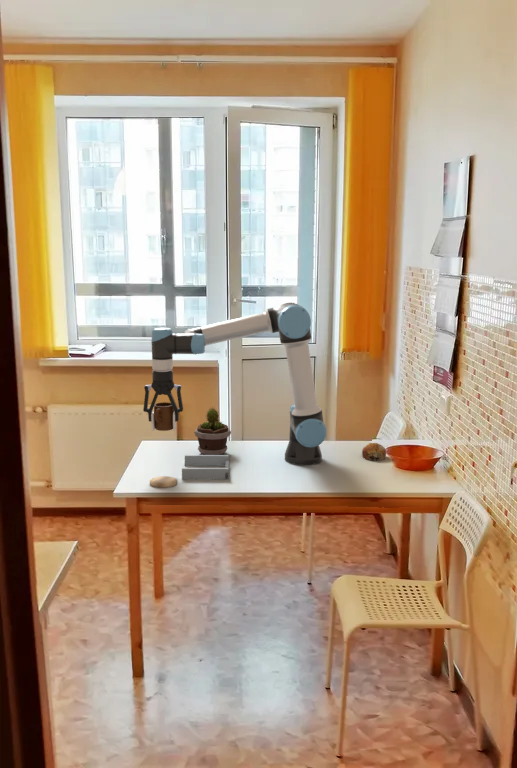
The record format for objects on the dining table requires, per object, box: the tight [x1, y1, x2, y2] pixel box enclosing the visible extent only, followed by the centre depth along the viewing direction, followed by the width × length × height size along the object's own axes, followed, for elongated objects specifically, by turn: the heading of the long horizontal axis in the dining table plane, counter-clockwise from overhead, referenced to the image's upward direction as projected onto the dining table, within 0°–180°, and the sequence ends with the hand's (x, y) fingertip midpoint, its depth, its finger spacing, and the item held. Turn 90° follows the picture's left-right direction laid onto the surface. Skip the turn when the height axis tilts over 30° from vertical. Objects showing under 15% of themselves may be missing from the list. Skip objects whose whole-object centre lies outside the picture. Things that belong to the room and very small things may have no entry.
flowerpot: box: [194, 406, 232, 455], centre depth 274 cm, size 14×15×20 cm
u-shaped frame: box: [181, 454, 230, 480], centre depth 253 cm, size 17×17×4 cm
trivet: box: [149, 475, 178, 489], centre depth 240 cm, size 10×10×1 cm
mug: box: [153, 401, 175, 432], centre depth 249 cm, size 12×8×9 cm, turn 166°
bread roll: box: [361, 442, 387, 462], centre depth 274 cm, size 10×10×8 cm
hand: (163, 429), depth 249 cm, fingers closed on mug, 7 cm apart
